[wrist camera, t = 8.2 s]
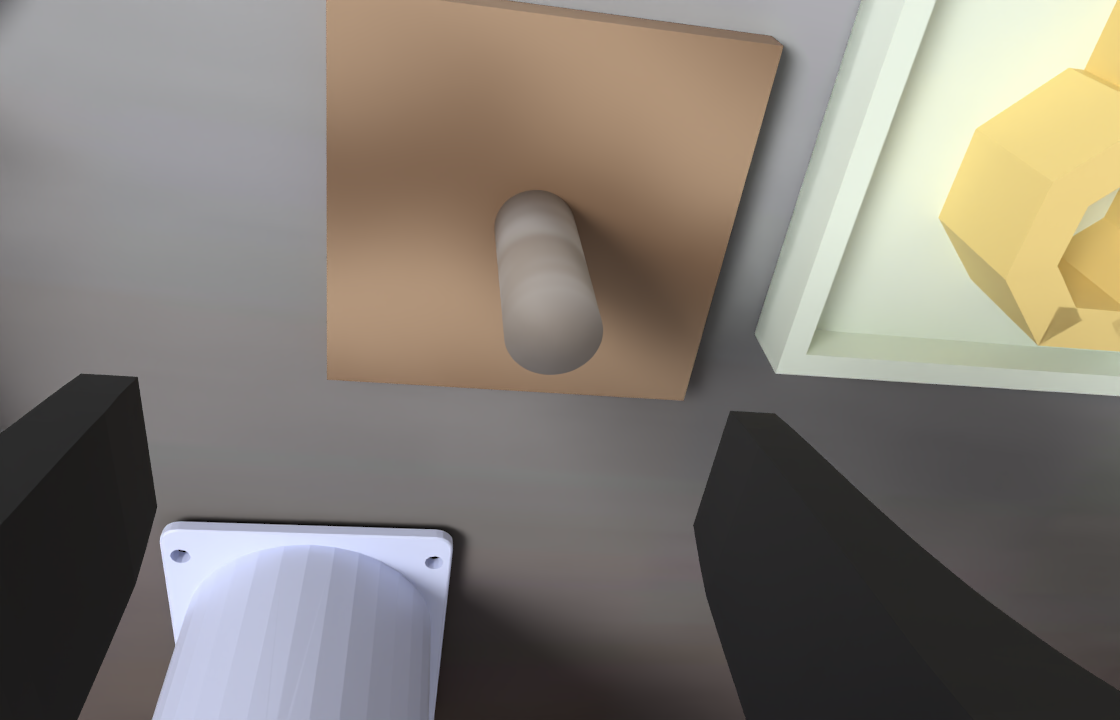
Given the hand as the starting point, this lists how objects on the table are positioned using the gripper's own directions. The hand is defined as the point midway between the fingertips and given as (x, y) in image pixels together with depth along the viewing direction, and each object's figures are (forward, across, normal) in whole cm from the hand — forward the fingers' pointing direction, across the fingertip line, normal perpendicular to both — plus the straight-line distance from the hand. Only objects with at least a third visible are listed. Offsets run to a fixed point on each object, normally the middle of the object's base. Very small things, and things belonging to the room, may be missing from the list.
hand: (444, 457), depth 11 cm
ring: (+9, -14, -1) cm, 17 cm away
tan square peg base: (+10, -2, +1) cm, 10 cm away
